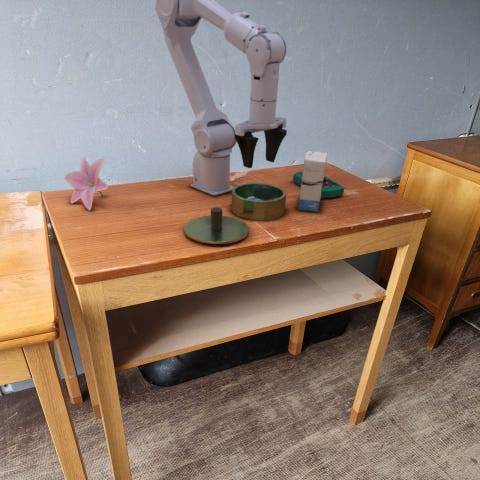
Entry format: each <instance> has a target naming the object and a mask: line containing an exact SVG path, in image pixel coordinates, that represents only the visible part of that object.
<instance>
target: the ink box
mask: <svg viewBox="0 0 480 480" xmlns="http://www.w3.org/2000/svg"><path fill="white" fill-rule="evenodd" d="M327 157H328V152H320V151H316V150H315V151H314V150H307V151H306V153H305V156H304V157H303V158H304V161H303V167H302V171H303V175H302V183H301V186H300V192H299V200H298V207H297V208H298V209H297V210H298V211H305V212H314V213H318V212H319V209H320V203H321V199H320V198H321V192H322V186H323V180H324V176H325V173H326V166H327V165H326V164H327Z"/></svg>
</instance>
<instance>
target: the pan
mask: <svg viewBox="0 0 480 480" xmlns="http://www.w3.org/2000/svg"><path fill="white" fill-rule="evenodd" d="M252 196H253V197H255V198H258V199H261V200H264V201H261V200H251V199H247V198H248V197H252ZM286 201H287V192H286V190H285V189H283V188H282V187H280V186H278V185H274V184H271V183H264V182H249V183H248V182H247V183H242V184H238V185H236V186H234V188H233V189H232V191H231V212H232V214H234V215H235V216H237V217H239V218H242V219H246V220H250V221H271V220H276V219H278V218H281V217H282V216H283V215H284V214H285V211H286Z"/></svg>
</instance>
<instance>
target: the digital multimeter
mask: <svg viewBox="0 0 480 480" xmlns="http://www.w3.org/2000/svg"><path fill="white" fill-rule="evenodd" d="M302 175H303V170H302V171H297V172H294V173H293V176H292V181H293V182H294V183H295V184H297V185H298V186H300V187H301V183H302ZM344 191H345V187H344V186H343V185H342V184H340V183H338V182H336V181H335V180H333V179H331V178H329V177H327V176H325V175H324V180H323V186H322V192H321V198H320V200H322V199H331V198H338V197H342V196H343V195H344Z"/></svg>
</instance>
